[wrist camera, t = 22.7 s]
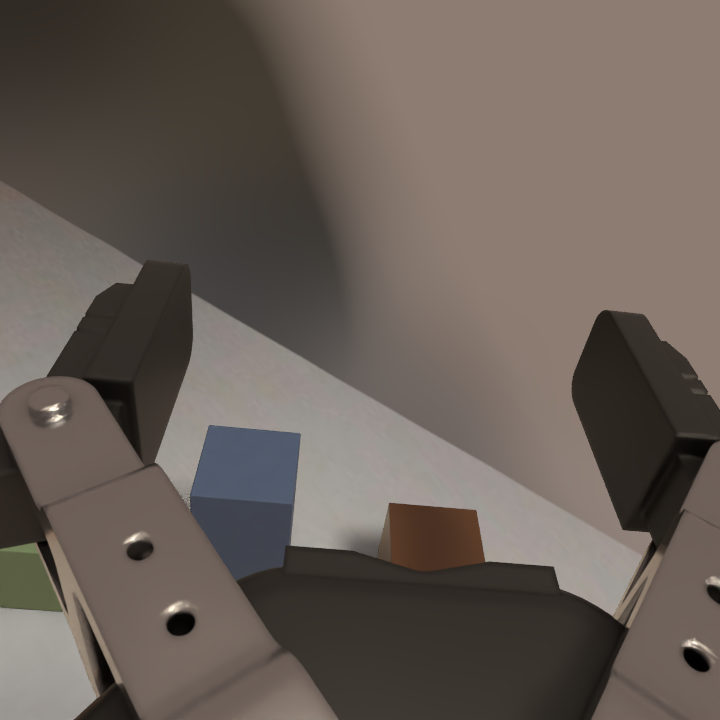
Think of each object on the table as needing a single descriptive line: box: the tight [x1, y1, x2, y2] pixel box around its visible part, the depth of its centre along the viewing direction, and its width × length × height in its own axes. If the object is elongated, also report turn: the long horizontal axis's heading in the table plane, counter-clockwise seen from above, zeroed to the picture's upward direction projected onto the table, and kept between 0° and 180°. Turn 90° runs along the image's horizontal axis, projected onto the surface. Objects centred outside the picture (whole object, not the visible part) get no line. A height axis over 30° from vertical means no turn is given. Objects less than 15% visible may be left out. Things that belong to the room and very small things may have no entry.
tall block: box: [190, 425, 301, 581], centre depth 34 cm, size 5×5×10 cm
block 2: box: [377, 503, 485, 572], centre depth 36 cm, size 5×5×5 cm
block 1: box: [0, 543, 63, 611], centre depth 35 cm, size 5×5×5 cm
